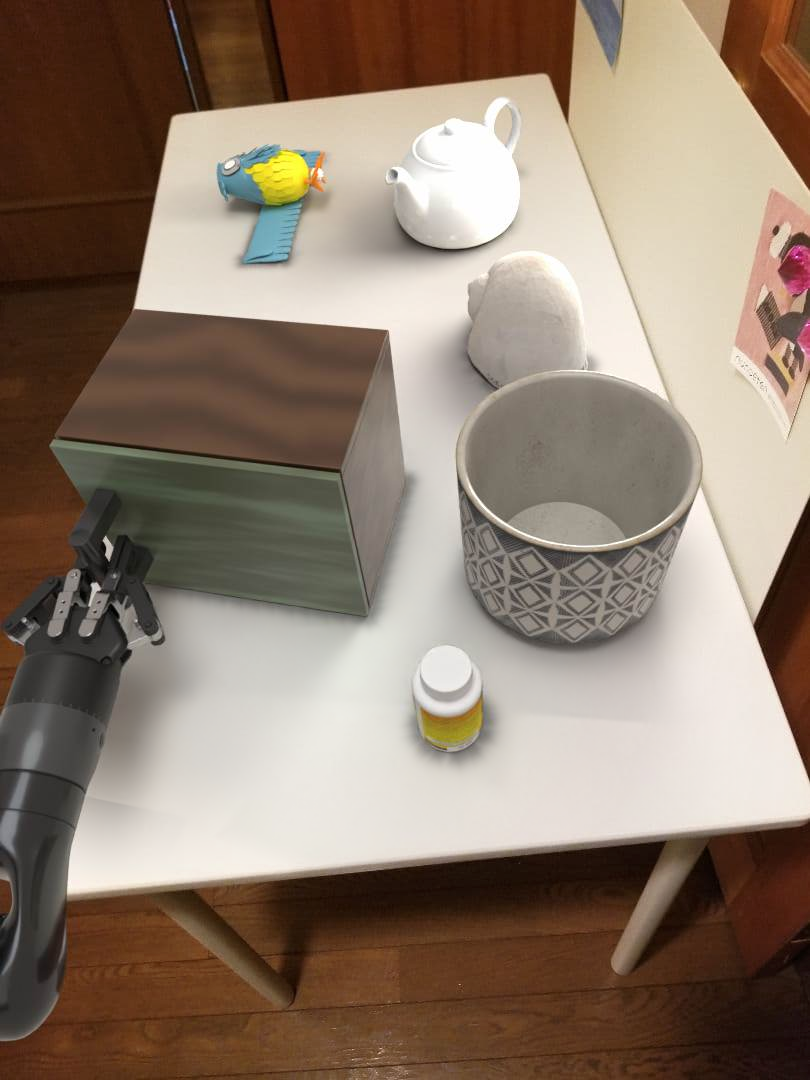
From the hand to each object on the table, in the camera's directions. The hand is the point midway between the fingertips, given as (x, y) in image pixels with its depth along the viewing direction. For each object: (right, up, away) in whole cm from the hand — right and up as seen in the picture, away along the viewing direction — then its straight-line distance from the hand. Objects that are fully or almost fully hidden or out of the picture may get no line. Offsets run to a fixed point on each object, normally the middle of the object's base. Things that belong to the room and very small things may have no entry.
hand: (112, 541), depth 71 cm
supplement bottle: (+30, -16, -2) cm, 33 cm away
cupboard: (+12, +2, +12) cm, 18 cm away
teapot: (+33, +45, +43) cm, 71 cm away
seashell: (+40, +23, +25) cm, 53 cm away
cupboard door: (+10, -8, +6) cm, 14 cm away
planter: (+41, -3, +7) cm, 41 cm away
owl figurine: (+7, +49, +48) cm, 69 cm away
